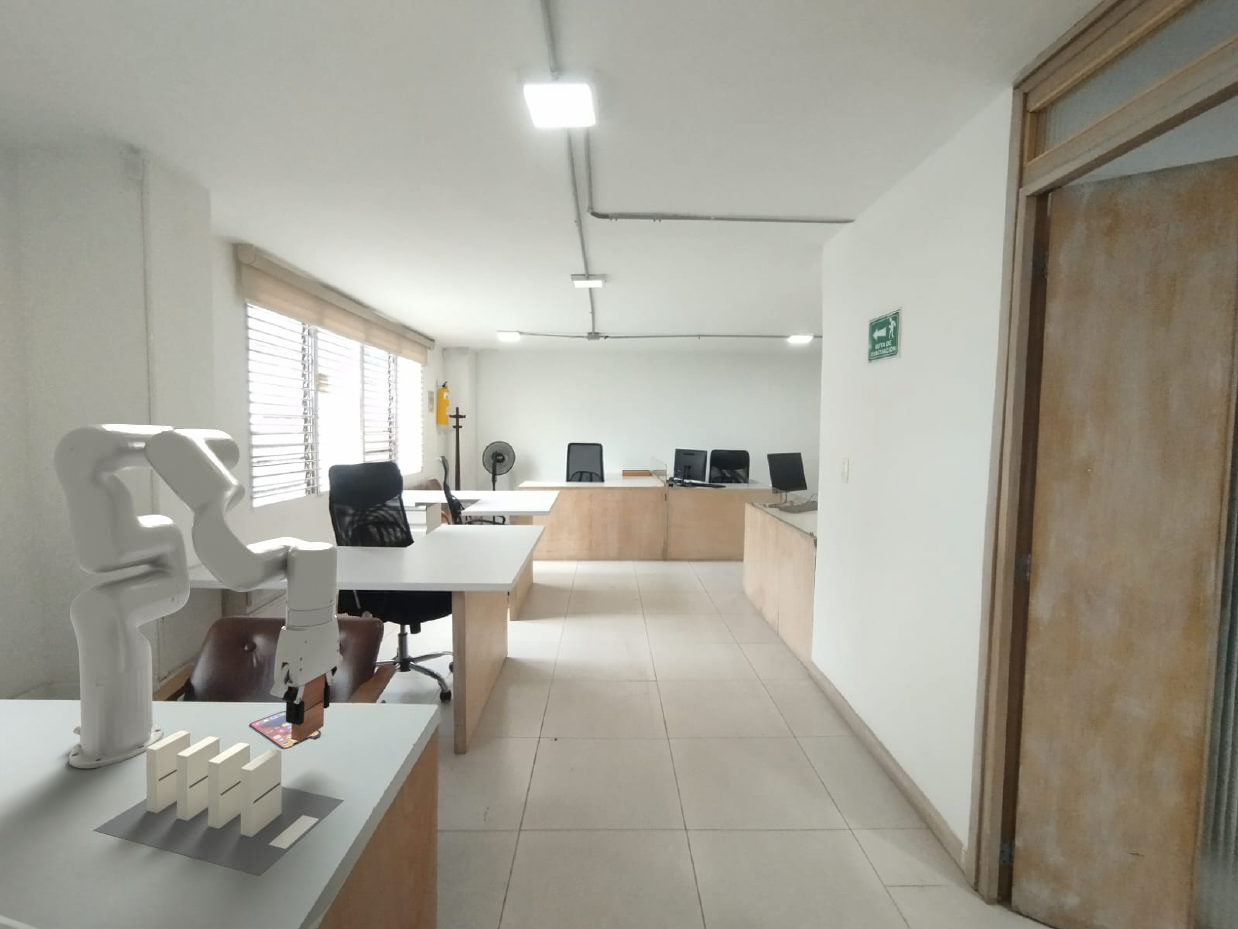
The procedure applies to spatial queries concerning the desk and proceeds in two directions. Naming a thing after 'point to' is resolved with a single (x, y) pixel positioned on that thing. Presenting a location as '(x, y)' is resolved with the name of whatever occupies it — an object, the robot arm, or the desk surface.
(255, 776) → the domino
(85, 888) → the desk surface
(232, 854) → the domino mat
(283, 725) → the smartphone
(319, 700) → the domino
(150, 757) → the domino
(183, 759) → the domino
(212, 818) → the domino
